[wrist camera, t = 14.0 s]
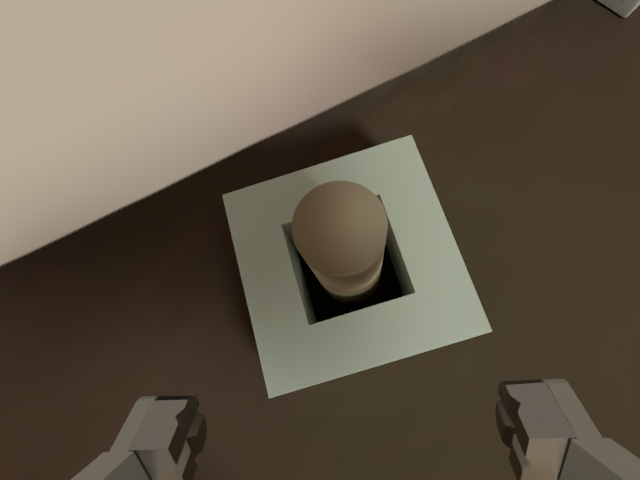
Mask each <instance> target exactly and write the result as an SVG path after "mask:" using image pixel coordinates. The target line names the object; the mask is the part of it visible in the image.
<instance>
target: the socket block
mask: <svg viewBox="0 0 640 480" xmlns="http://www.w3.org/2000/svg"><path fill="white" fill-rule="evenodd" d="M331 181H350V182H355V183H358V184H360V185H362V186H364V187H366V188H368V189H369V190H370V191H372V192H373V193H374V194H375V195H376V196H377V197H378V199H379V200H380V201H381V203H382V205H383V207H384V209H385V211H386V215H387V221H388V230H387V237H386V243H385V244H386V246H387V249H388V252H389V255H390V258H391V261H392V263H393V266H394V269H395V272H396V275H397V277H398V280H399V283H400V286H401V289H402V292H403V294H404V296H403V297H400V298H396V299H393V300H390V301H387V302H383V303H380V304H377V305H374V306H370V307H367V308H364V309H360V310H357V311H354V312H351V313H347V314H344V315H341V316H337V317H334V318H331V319H328V320H324V321H321V322H318V323H317V320H316V316H315V313H314V309H313V305H312V302H311V298H310V295H309V291H308V288H307V284H306V281H305V277H304V273H303V270H302V266H301V263H300V259H299V256H298V252H297V248H296V246H295V243H294V240H293V236H292V219H293V215H294V212H295V209H296V207H297V205H298V204H299V202H300V201H301V199H302V198H303V197H304V196H305V195H306V194H307V193H308V192H309V191H311V190H312V189H314V188H315V187H317V186H319V185H321V184H324V183H327V182H331ZM222 197H223V201H224V205H225V210H226V214H227V218H228V223H229V227H230V231H231V236H232V240H233V244H234V249H235V253H236V257H237V262H238V266H239V270H240V275H241V279H242V284H243V288H244V292H245V297H246V301H247V305H248V310H249V314H250V318H251V323H252V327H253V331H254V336H255V340H256V344H257V349H258V353H259V357H260V362H261V366H262V370H263V375H264V379H265V383H266V388H267V392H268V396H269V398H272V397H276V396H279V395H282V394H286V393H289V392H292V391H296V390H299V389H302V388H306V387H309V386H312V385H316V384H319V383H322V382H326V381H329V380H332V379H336V378H339V377H342V376H346V375H349V374H352V373H356V372H359V371H362V370H366V369H369V368H372V367H376V366H379V365H382V364H386V363H389V362H392V361H396V360H399V359H402V358H406V357H409V356H412V355H416V354H419V353H422V352H426V351H429V350H432V349H436V348H439V347H442V346H446V345H449V344H452V343H456V342H459V341H462V340H466V339H469V338H472V337H476V336H479V335H482V334H486V333H489V332H492V329H491V327H490V325H489V322H488V320H487V317H486V315H485V312H484V310H483V308H482V305H481V303H480V300H479V298H478V295H477V293H476V290H475V288H474V286H473V283H472V281H471V278H470V276H469V273H468V271H467V269H466V266H465V264H464V261H463V259H462V256H461V254H460V251H459V249H458V247H457V244H456V242H455V239H454V237H453V234H452V232H451V230H450V227H449V225H448V222H447V220H446V217H445V215H444V212H443V210H442V208H441V205H440V203H439V200H438V198H437V195H436V193H435V191H434V188H433V186H432V183H431V181H430V178H429V176H428V173H427V171H426V169H425V166H424V164H423V161H422V159H421V156H420V154H419V152H418V149H417V147H416V144H415V142H414V139H413V137H412V135H409V136H406V137H403V138H400V139H396V140H393V141H390V142H387V143H384V144H381V145H378V146H374V147H371V148H368V149H365V150H362V151H359V152H356V153H352V154H349V155H346V156H343V157H340V158H337V159H334V160H330V161H327V162H324V163H321V164H318V165H315V166H312V167H308V168H305V169H302V170H299V171H296V172H293V173H290V174H286V175H283V176H280V177H277V178H274V179H271V180H268V181H264V182H261V183H258V184H255V185H252V186H249V187H246V188H242V189H239V190H236V191H233V192H230V193H227V194H224V195H222Z"/></svg>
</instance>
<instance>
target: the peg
mask: <svg viewBox="0 0 640 480" xmlns="http://www.w3.org/2000/svg"><path fill="white" fill-rule="evenodd" d="M387 230H388V221H387V215H386V211H385V209H384V207H383V205H382V203H381V201H380V200H379V199H378V197H377V196H376V195H375V194H374V193H373V192H372V191H370V190H369V189H368V188H366V187H364V186H362V185H360V184H358V183H355V182H350V181H331V182H327V183H324V184H321V185H319V186H317V187H315V188H314V189H312V190H311V191H309V192H308V193H307V194H306V195H305V196H304V197H303V198H302V199H301V201H300V202H299V204H298V205H297V207H296V209H295V212H294V215H293V219H292V236H293V240H294V243H295V246H296V248H297V250H298V251H299V253H300V254H301V256H302V257H303V258H304V260H305V261H306V263H307V264H308V266H309V267H310V269H311V270H312V271H313V273H314V274H315V276H316V277H317V279H318V280H319V282H320V283H321V285H322V286H323V287H324V289H325V290H326V292H327V293H328V294H329V295H330V296H331V297H332V298H333V299H335V300H336V301H338V302H341V303H345V304H356V303H360V302H363V301H365V300H367V299H368V298H369V297H370V296H371V295H373V293H374V292H375V291H376V289H377V287H378V284H379V281H380V275H381V268H382V262H383V256H384V249H385V243H386V237H387Z"/></svg>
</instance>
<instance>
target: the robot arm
mask: <svg viewBox="0 0 640 480" xmlns="http://www.w3.org/2000/svg"><path fill="white" fill-rule="evenodd" d="M498 393H499V395H500V398H501V400H499V401H498V402H497V403H496V411H495V413H496V422H497V427H498V430H499V434H500V436H501V439H502V442H503V443H505V444H506V445H507V446H508V447H509V448H510V449H511V450H510V456H509V460H510V463H511V466H512V468H513V471H514V473H515V476H516V479H517V480H640V459H639V458H638V457H636V456H635V455H633V454H632V453H631V452H629V451H628V450H626V449H625V448H623V447H622V446H620V445H619V444H618V443H616V442H615V441H613V440H612V439H610V438H603V437H602V436H601V434H600V433H599V431H598V429H597V428H596V426H595V425H594V423H593V421H592V420H591V418H590V417H589V415H588V413H587V412H586V410H585V409H584V407H583V405H582V404H581V402H580V401H579V399H578V398H577V396H576V394H575V393H574V391H573V390H572V388H571V386H570V385H569V383H568V382H567V381H566V380H565V379H547V380H540V379H538V380H520V381H502V382H501V383H500V384H499V388H498ZM198 406H199V402H198V400H197V398H196V396H146V397H141V398H140V399H138V400H137V401H136V403H135V405H134V407H133V408H132V410H131V412H130V414H129V416H128V418H127V420H126V421H125V423H124V425H123V427H122V429H121V431H120V432H119V434H118V436H117V438H116V440H115V442H114V444H113V445H112V447H111V449H110V451H109V452H103V453H102V454H101V455H100V456H99V457H97V458H96V459H95V460H94V461H93V462H91V463H90V464H89V465H88V466H87V467H85V468H84V469H83V470H82V471H81V472H79V473H78V474H77V475H76V476H75V477H73V478H72V479H71V480H193V478H194V475H195V472H196V469H197V464H196V461H195V457H196V456H197V455H198V454H199V453H200V452H201V451H202V450H203V447H204V444H205V441H206V432H207V425H206V419H205V417H204V414H202V413H201V412H200V411H198V410H197V409H198Z"/></svg>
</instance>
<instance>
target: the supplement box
mask: <svg viewBox="0 0 640 480" xmlns="http://www.w3.org/2000/svg"><path fill="white" fill-rule="evenodd" d="M597 1H598V2H600V3H602V4H603V5H605V6H607V7H608V8H610V9H611V10H613V11H614V12H616V13H617V14H618V15H620V16H621V17H623V18H626V17H628V16H629V15H630V14H631V13H632V12H633V11H634V10H635V9H636V8H637V7H638V6H639V5H640V0H597Z"/></svg>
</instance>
